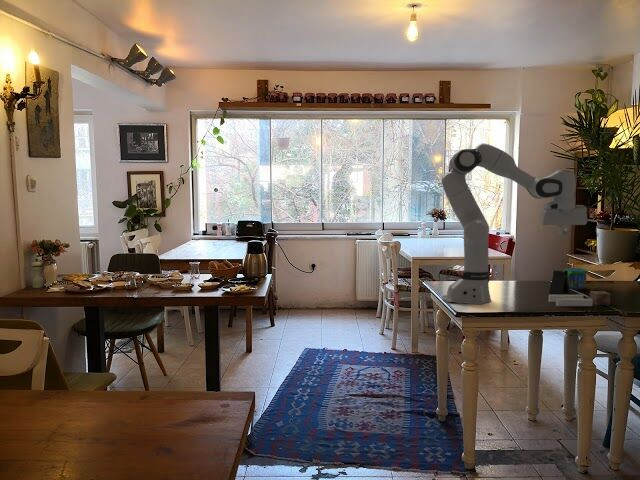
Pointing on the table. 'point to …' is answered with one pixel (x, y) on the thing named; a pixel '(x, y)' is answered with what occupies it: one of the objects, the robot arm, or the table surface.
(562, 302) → the chute
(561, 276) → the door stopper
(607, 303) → the walnut block
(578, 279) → the snack cup
